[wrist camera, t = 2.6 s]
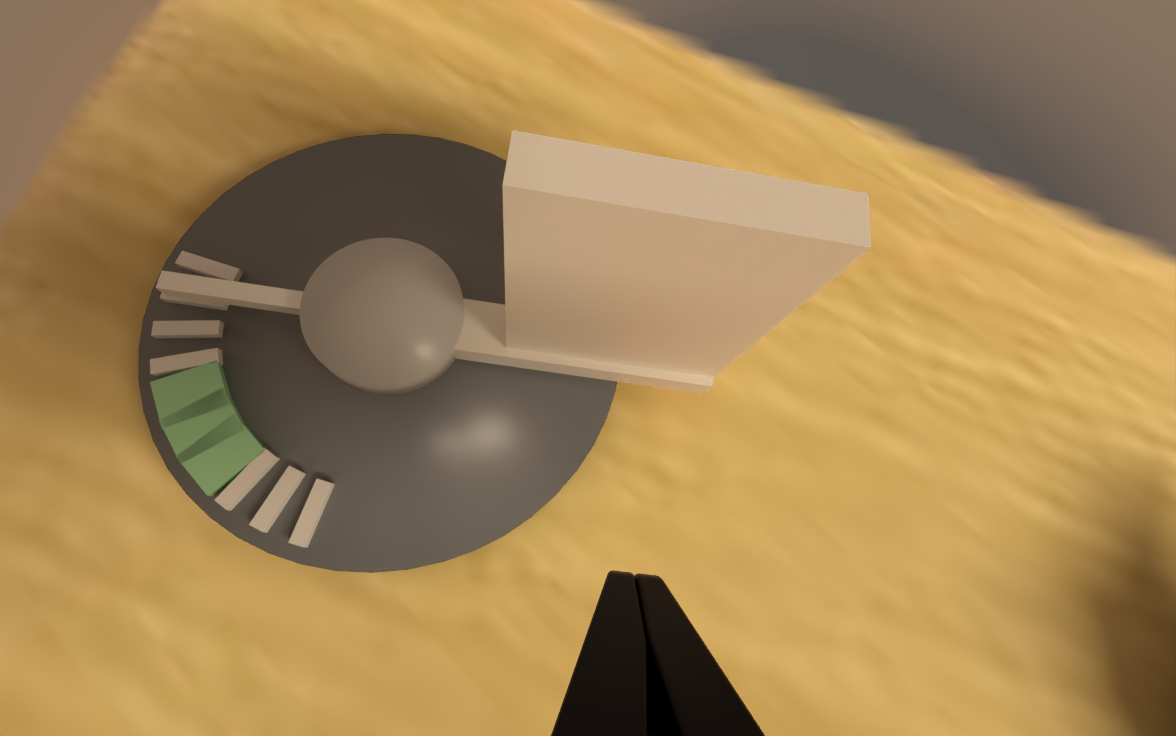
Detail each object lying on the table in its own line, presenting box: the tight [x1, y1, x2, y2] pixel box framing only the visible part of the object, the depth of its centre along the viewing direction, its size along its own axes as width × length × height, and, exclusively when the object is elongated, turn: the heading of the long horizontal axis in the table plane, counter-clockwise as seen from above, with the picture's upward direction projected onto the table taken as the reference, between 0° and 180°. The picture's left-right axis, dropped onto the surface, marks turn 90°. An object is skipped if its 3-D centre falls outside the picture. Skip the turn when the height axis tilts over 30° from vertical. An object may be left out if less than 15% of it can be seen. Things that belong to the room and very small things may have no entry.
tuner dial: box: [139, 134, 617, 573], centre depth 20 cm, size 16×16×1 cm
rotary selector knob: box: [155, 130, 871, 395], centre depth 15 cm, size 18×5×10 cm, turn 83°
